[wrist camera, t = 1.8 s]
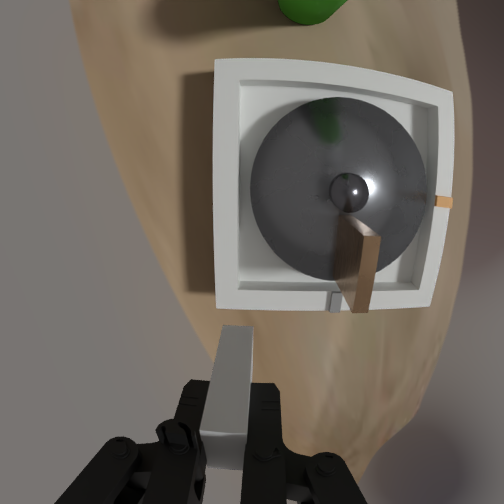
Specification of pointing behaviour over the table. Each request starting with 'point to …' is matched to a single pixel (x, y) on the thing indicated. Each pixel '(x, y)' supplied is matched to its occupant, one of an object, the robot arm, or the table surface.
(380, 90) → the white square tray
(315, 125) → the dial
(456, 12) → the table surface
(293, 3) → the cup
